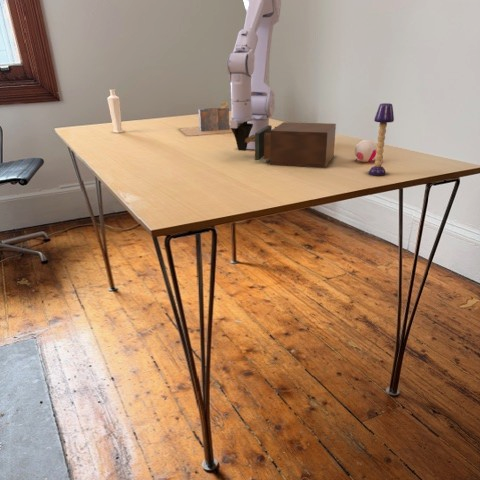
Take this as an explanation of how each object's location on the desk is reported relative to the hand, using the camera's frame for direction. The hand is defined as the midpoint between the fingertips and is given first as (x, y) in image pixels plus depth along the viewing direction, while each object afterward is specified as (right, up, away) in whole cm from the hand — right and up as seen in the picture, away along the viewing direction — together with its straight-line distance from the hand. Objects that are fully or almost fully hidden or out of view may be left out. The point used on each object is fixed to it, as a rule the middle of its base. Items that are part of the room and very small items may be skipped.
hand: (242, 150), depth 144 cm
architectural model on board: (-11, +23, +44) cm, 50 cm away
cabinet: (+18, -4, -4) cm, 19 cm away
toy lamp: (+35, -13, -19) cm, 42 cm away
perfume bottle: (-48, +23, +45) cm, 70 cm away
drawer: (+11, -3, -3) cm, 11 cm away
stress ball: (+35, -6, -7) cm, 37 cm away
